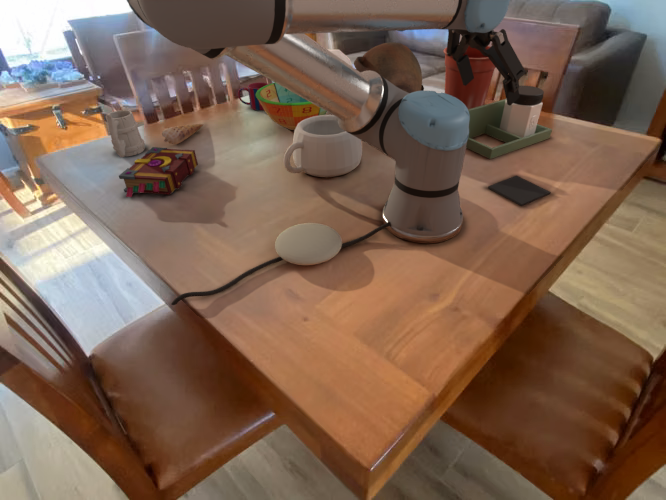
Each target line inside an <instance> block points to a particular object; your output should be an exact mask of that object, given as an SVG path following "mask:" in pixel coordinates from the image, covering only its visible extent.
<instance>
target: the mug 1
mask: <svg viewBox="0 0 666 500" xmlns="http://www.w3.org/2000/svg"><path fill="white" fill-rule="evenodd" d="M105 120H106V123H107V131H108V132H109V135H110V139H111V140H110V141H111V142H110V143H111V145H112V149H113V150H114V151H115V153H116V154H117V156H119V157H120V158H125V157H132V156H136V155H139V154H141V153H143V152H145V149H146V147H145V144H146V143H145V140H144V139H143V138H142V136H141V133H140V131H139V128H138V127H139V123H138V122H137V121H136V120H135V116H134V114H133V111H131V110H128V109H122V110H121V109H120V110H114V111H111V112H108V113H106V114H105Z"/></svg>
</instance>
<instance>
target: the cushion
mask: <svg viewBox="0 0 666 500" xmlns="http://www.w3.org/2000/svg"><path fill="white" fill-rule="evenodd" d="M342 244H343V240H342V236H341V234H340V233H339V232H338V231H337V230H336V229H334V228H333V227H331V226H329V225H326V224H323V223H319V222H304V223H298V224H295V225H292V226H289V227H287V228H285V229H284V230H283V231H282V232H280V233H279V235H277V237H276V239H275V242H274V250H275V252H276V254H277V255H278V257H281V258H282V259H284V260H283V261H285V262H287V263H289V264H290V263H291V264H292V265H298V266H314V265H320V264H323V263H326V262H328V261H330V260H332V259H333V258H334V257H336V256H337V255H338V253H339V252H340V251H341V249H342V248H341V246H342Z"/></svg>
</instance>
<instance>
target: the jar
mask: <svg viewBox="0 0 666 500" xmlns="http://www.w3.org/2000/svg"><path fill="white" fill-rule="evenodd" d="M518 90H519V96H520V97H519V98H518V99H517V100H516V101H515V102H514V103H513V104H512V105H507V100H506V101H505V106H504V110H503V115H502V119H501V124H500V128H499V129H501V130H504V131H506V132H509V133H511V134H514V135H516V136H519V137H521V138H523V137H526V136H529V135H532V134H535V130H536V126H537V124H538V122H539V119H540V116H541V112H542V108H543V103H544V102H543V98H544V93H545V91H544V89H542V88H539V87H537V86H531V85H519V89H518Z"/></svg>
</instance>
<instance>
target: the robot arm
mask: <svg viewBox="0 0 666 500" xmlns="http://www.w3.org/2000/svg"><path fill="white" fill-rule="evenodd" d="M510 2H511V0H126V3H128V6H129V8H130V9H131V11H132V12H133V13H134V15H136V17H137V18H138V19H139V20H140V21H141V22H142V23H143V24H145V25H146V26H148V27H149V28H151V29H153V30H155V31H156V32H158V33H159V34H160V35H161V36H162V37H164V38H165V39H167V40H168V41H170V42H171V43H173V44H176V45H177V46H180V47H183V48H187V49H191V50H193V51H195V52H196V53H199V54H200V55H203V56H204V57H206V58H208V59H210V60H218V59H220V58H222V57H224V56H227V57H229V58H230V59H232V60H234V61H236V62H238V63H239V64H241V65H243V66H245V67H246V68H248V69H250V70H251V71H254V72H256V73H257V74H259V75H261V76H263V77H265V78H266V79H268V80H270V81H271V82H272V83H277V84H279V85H281V86H282V87H284V88H286V89H288V90H289V91H291V92H293V93H295V94H297V95H298V96H300V97H302V98H304V99H306V100H307V101H309V102H311V103H313V104H315V105H316V106H318V107H320V108H322V109H324V110H325V111H327V112H326V113H329V114H330V115H334V116H336V118H337V122H338V125H339V126H340V128H341V129H343V130H344V131H346V132H348V133H350V134H352V135H353V136H355V137H357V138H359V139H360V140H361V142H365V143H366V144H368V145H370V146H372V147H373V148H375V149H377V150H378V151H380V152H381V153H383V154H384V155H386V156H387V157H389V158H391V159H392V160H394V162H395V166H394V167H395V170H394V181H393V185H392V188H391V191H390V193H389V194H388V195H389V196H388V199H386V201H385V204H384V206H383V208H382V223H383V224H382V225H380V226H378V227H376V228H374V229H373V230H371V231H370V232H368V233H367V234H364V235H362V236H360V237H357V238H355V239H353V240H352V239H351V240H349V241H346V242H344V243H343V242H342V246H341V249H344V248H346V247H350V246H353V245H356V244H357V243H360V242H363V241H365V240H367V239H369V238H371V237H372V236H374V235H376V234H377V233H379V232H380V231H382V230H385V229H386V230H387V231H388V232H390V233H391V234H392V235H394V236H395V237H397V238H399V239H402V240H404V241H408V242H412V243H417V244H436V243H441V242H442V243H443V242H445V241H448V240H451V239H453V238H454V237H455V236H457V235H458V234H459V233H460V231H461V230H462V226H463V221H464V213H463V209H462V207H461V198H460V192H459V185H460V180H461V176H462V170H463V165H464V160H465V156H466V149H467V148H466V145H467V140H468V137H469V120H470V115H469V111H468V109H467V107H466V106H465V104H464V103H463V102H462V101H460V100H459V99H457V98H455V97H453V96H451V95H449V94H446V93H445V92H437V91H435V90H424V91H416V92H412V93H407V92H405V91H403V90H401V89H400V88H398V87H396V86H395V85H393V84H392V83H391V82H389V81H388V80H386V79H385V78H384V77H382V76H381V75H379V74H378V73H376V72H375V71H370V70H369V71H363V72H359V71H358V70H356V68H355V67H354V66H353V65H352V66H353V67H352V66H350V65H349V64H347V63H346V62H345V61H343V60H342V59H340V58H339V57H337V56H336V55H334V54H333V53H332V52H330V51H329V50H327V49H328V48H326V47H324V46H323V45H321V44H320V43H319V42H317V41H315V40H314V39H313V38H311V37H310V36H308V35H307V34H329V33H331V34H333V33H361V32H363V33H364V32H388V31H389V32H391V31H392V32H393V31H397V32H405V31H418V30H419V31H420V30H421V31H423V30H447V32H448V34H447V44H446V48H447V55H448V56H449V57H450V56H453V60H454V61H456V64H457V66H458V69H459V72H460V76H461V79H462V82H463V85H464V86H466V85H467V84H468V83H469V82H471V81H472V80H473V79H474V75H473V72H472V68H471V64H470V61H469V57H468V55H466V54H465V53H466V52H467V51H466V50H467V48H468V47H469V46H470V47H471V48H476V49H477V50H480V52H481V53H482V54H483V55H484V56H487V57H488V58H489V59H490V60H491V62H492V63H493V64H494V66H495V67H496V68H495V69H496V70H497V71H498V72H499V74H500V75H501V76H502V78H503V79H502V85H503V90H504V95H505V99H506V100H507V105H512V104H513V103H514V102H515V101H516V100H517V99H518V98H519V97H520V96H519V90H518V89H519V86H520V83H519V80H520V79H521V78H523V76H524V75H525V74H526V73H527V72H526V69H525V68H524V65H523V64H522V62H521V61H520V59H519V57H518V55H517V53H516V52H515V49H514V48H513V46H512V44H511V43H510V42H511V41H510V40H509V38H508V34H507V31H506V30H505V29H504V28H501V29H500V30H499V31H495V29H496V28H497V27H498V26H499V25H500V24H501V22H503V20H504V19H505V17H506V15H507V13H508V10H509V5H510ZM490 44H491V46H490V48H489V49H488V50H487V49H486V47H487V46H489V45H490ZM463 54H465V55H464V56H463ZM281 261H285V260H284V259H282V258H281V257H280V256H277V257H274V258H272V259H270V260H267V261H264V262H262V263H260V264H258V265H256V266H254V267H252V268H250V269H248V270H247V271H245V272H243V273H241V274H239V276H237V277H235V278H234V279H233V280H231V281H229V282H228V283H225V284H223V285H222V286H219V287H218V288H214V289H212V290H207V291H188V292H185V293H182V294H180V295H178V296H176V297H175V299H174V300H173V301H172V302H171V303H170V305H171V306H176V305H177V304H178V303H180V301H182V300H184V299H186V298H192V297H209V296H214V295H217V294H219V293H221V292H224V291H226V290H228V289H231V287H233V286H234V285H237V284H238V283H240V282H241V281H242V280H243V279H245V278H247V277H248V276H250V275H251V274H254V273H256V272H257V271H260V270H262V269H264V268H266V267H268V266H270V265H273V264H276V263H278V262H281Z"/></svg>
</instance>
